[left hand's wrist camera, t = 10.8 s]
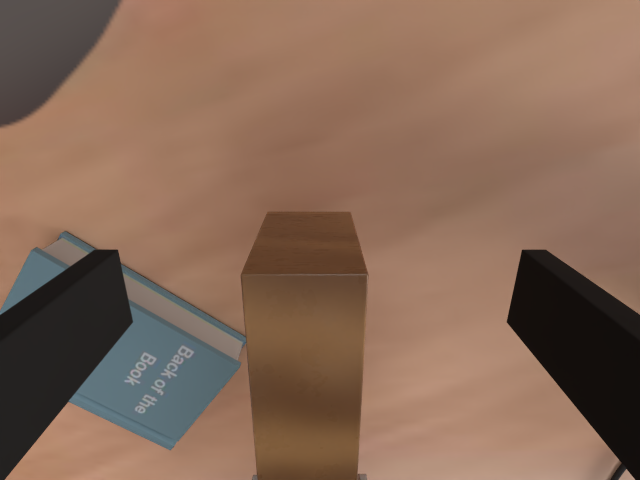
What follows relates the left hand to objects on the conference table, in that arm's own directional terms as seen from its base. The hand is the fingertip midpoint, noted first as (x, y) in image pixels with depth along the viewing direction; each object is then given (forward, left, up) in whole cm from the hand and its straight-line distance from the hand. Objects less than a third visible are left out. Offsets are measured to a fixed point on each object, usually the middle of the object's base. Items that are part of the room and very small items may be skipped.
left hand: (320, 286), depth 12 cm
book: (-15, +27, -26) cm, 40 cm away
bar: (-12, +4, -12) cm, 18 cm away
